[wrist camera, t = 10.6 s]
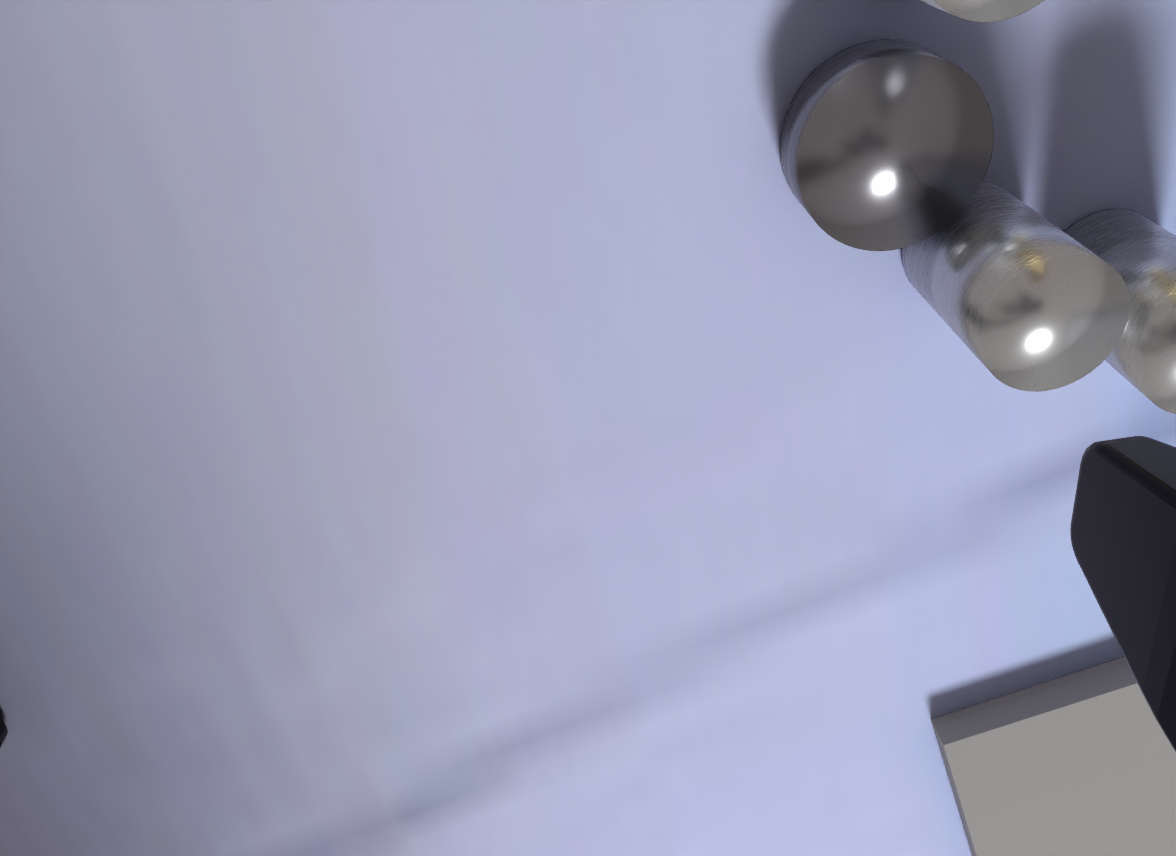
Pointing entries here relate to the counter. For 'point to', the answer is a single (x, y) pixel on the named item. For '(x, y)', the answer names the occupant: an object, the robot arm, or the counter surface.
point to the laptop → (1063, 769)
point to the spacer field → (977, 220)
